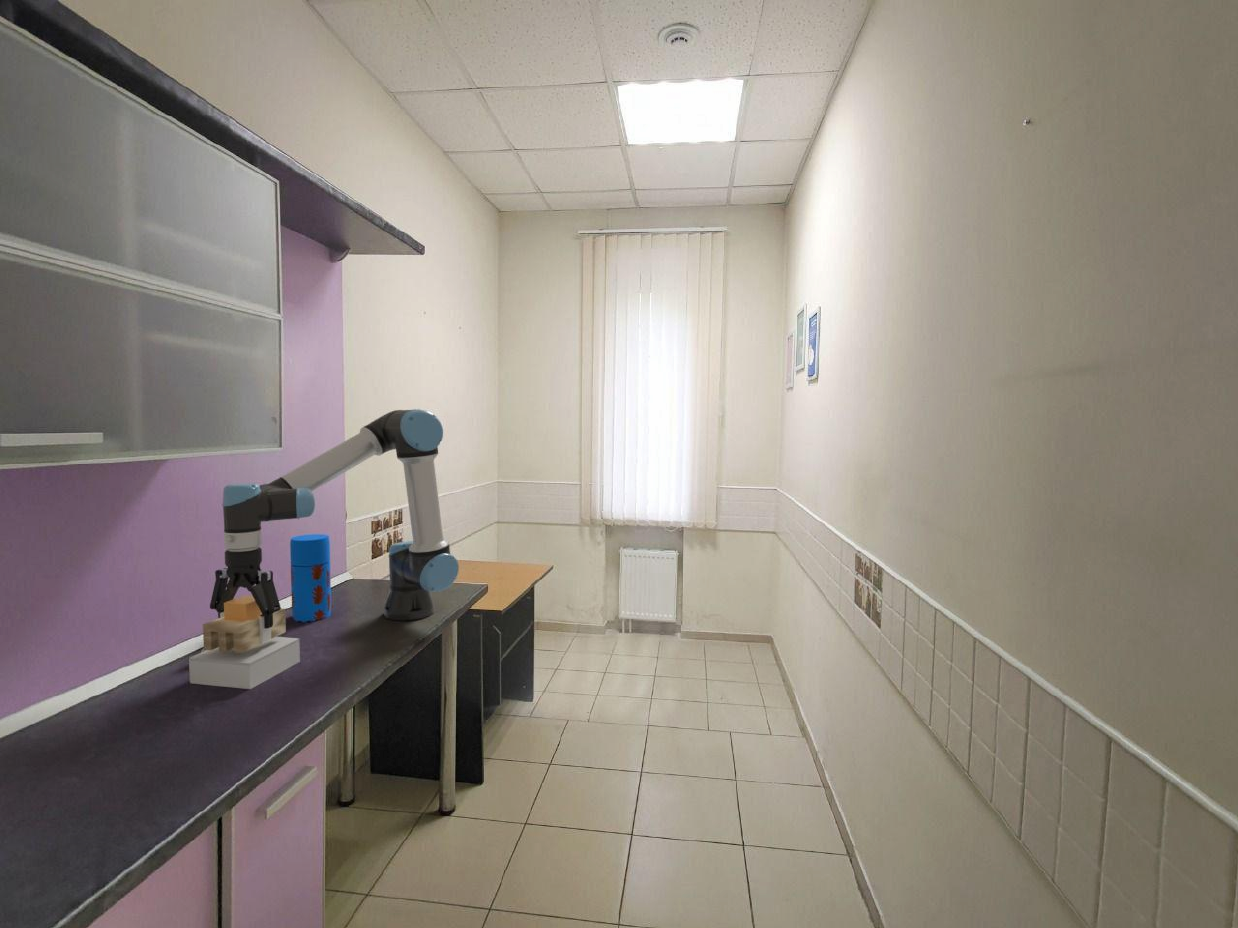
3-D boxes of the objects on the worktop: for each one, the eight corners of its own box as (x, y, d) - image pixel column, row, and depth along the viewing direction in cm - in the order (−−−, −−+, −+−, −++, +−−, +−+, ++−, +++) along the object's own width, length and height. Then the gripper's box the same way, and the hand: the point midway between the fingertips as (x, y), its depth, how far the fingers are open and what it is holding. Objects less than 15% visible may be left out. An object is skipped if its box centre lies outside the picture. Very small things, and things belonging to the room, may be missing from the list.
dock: (244, 656, 154) (244, 634, 153) (299, 661, 151) (299, 638, 150) (190, 683, 138) (188, 657, 138) (250, 689, 135) (249, 663, 135)
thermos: (288, 615, 187) (286, 536, 185) (325, 608, 194) (323, 532, 192) (297, 624, 178) (295, 542, 177) (335, 617, 185) (333, 537, 184)
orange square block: (244, 611, 147) (244, 595, 147) (265, 613, 146) (265, 597, 146) (224, 619, 141) (223, 602, 141) (246, 621, 140) (245, 604, 140)
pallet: (251, 629, 152) (250, 606, 151) (285, 631, 150) (285, 608, 150) (203, 649, 138) (202, 624, 138) (241, 652, 136) (240, 627, 136)
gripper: (188, 549, 141) (192, 641, 142) (273, 553, 137) (275, 648, 138) (215, 543, 148) (218, 630, 150) (296, 547, 144) (298, 637, 146)
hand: (246, 639), depth 144 cm, fingers closed on pallet, 10 cm apart
